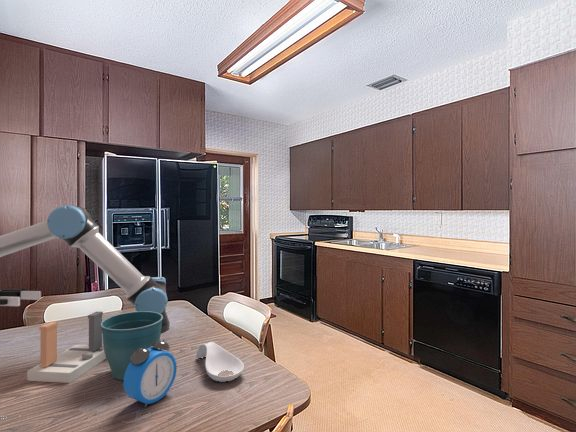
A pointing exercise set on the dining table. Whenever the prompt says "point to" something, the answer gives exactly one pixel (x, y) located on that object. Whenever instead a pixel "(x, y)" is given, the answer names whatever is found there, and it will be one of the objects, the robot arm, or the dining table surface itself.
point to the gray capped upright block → (95, 331)
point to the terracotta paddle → (48, 344)
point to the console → (68, 365)
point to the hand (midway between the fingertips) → (29, 298)
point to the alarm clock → (150, 373)
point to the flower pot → (128, 337)
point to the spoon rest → (219, 362)
